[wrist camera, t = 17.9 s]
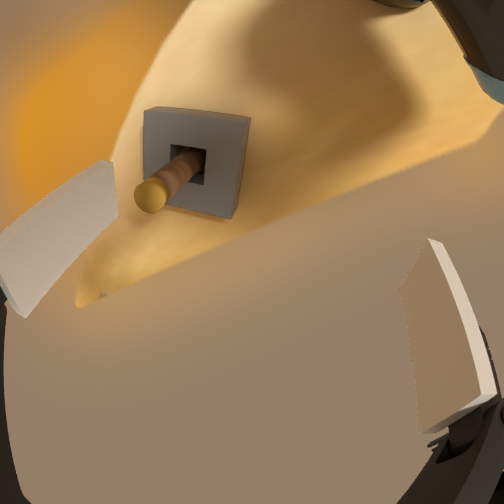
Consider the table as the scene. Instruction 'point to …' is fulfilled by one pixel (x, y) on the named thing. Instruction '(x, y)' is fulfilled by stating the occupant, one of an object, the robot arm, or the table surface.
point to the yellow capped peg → (169, 180)
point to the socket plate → (205, 137)
